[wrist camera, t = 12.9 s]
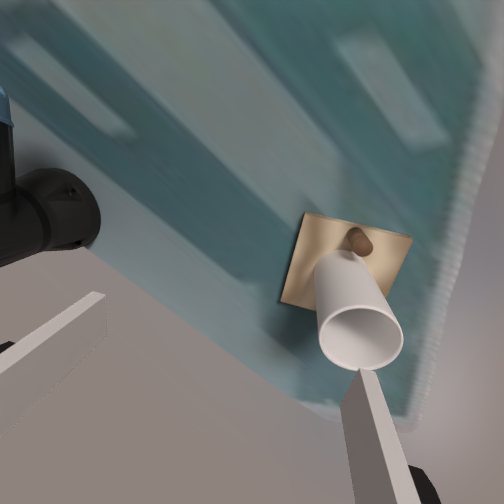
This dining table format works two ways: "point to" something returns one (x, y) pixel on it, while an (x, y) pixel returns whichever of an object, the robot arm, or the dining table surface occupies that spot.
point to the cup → (353, 314)
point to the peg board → (341, 238)
